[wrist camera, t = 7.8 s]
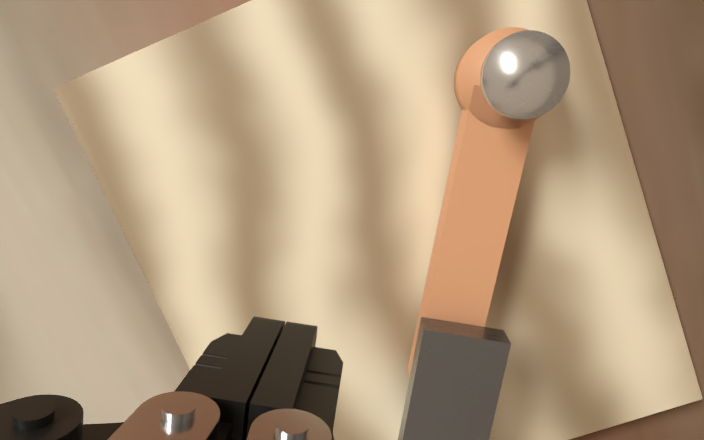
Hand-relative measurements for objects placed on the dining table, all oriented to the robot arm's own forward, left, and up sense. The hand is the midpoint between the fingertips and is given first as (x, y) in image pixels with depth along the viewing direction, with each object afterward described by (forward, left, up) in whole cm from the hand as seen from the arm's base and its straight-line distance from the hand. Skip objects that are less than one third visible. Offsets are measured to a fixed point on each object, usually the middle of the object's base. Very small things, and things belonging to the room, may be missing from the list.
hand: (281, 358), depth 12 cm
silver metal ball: (-10, -4, -13) cm, 17 cm away
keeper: (-2, +10, -16) cm, 19 cm away
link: (-7, +2, -15) cm, 17 cm away
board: (-2, +2, -17) cm, 17 cm away
